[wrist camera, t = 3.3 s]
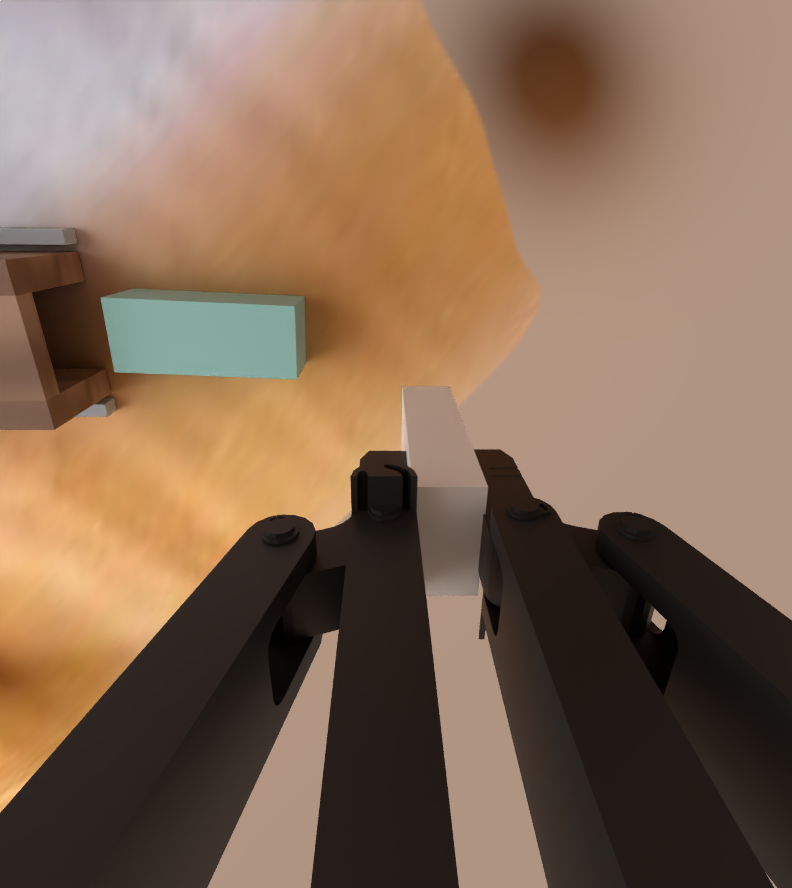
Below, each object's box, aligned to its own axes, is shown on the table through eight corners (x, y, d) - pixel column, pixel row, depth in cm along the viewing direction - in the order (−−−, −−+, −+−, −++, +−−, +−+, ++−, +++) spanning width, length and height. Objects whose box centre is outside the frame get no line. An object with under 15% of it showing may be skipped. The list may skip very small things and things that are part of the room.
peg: (134, 287, 30) (100, 297, 26) (305, 295, 30) (294, 306, 26) (145, 354, 31) (114, 372, 28) (306, 360, 32) (296, 379, 28)
